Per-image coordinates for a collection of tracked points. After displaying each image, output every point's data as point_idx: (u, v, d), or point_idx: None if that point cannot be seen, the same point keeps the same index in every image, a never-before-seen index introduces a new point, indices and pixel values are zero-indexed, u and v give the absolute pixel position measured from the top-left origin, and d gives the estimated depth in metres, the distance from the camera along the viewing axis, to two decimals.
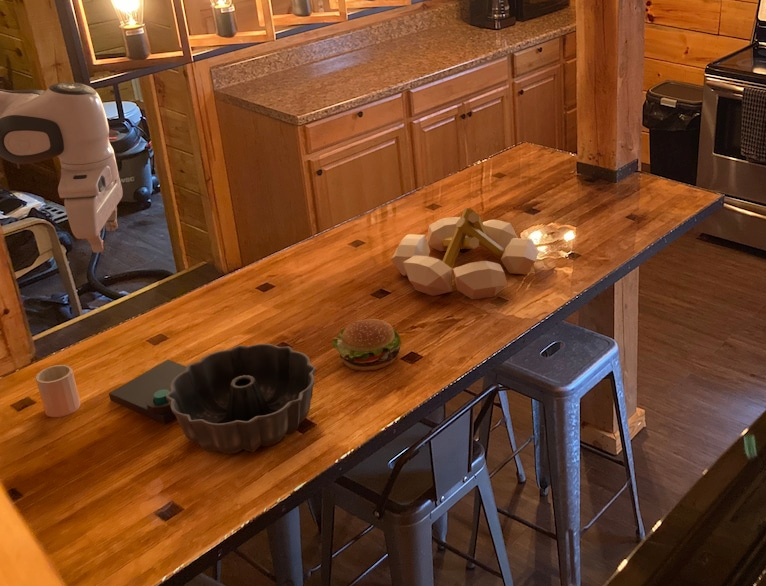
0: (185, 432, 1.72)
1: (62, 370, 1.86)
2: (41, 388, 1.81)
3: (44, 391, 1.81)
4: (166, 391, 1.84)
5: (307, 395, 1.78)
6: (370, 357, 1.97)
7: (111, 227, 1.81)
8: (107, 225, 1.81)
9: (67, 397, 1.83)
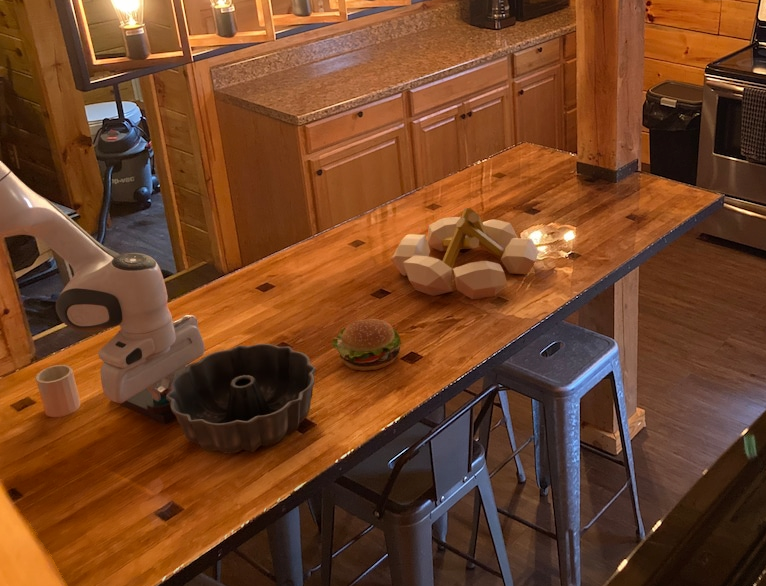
0: (185, 432, 1.72)
1: (62, 370, 1.86)
2: (41, 388, 1.81)
3: (44, 391, 1.81)
4: None
5: (307, 395, 1.78)
6: (370, 357, 1.97)
7: None
8: None
9: (67, 397, 1.83)
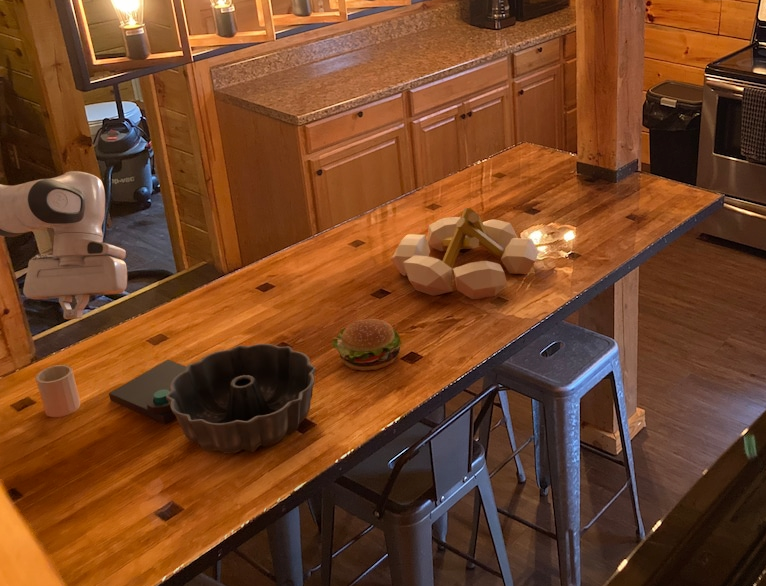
0: (185, 432, 1.72)
1: (62, 370, 1.86)
2: (41, 388, 1.81)
3: (44, 391, 1.81)
4: (166, 391, 1.84)
5: (307, 395, 1.78)
6: (370, 357, 1.97)
7: None
8: None
9: (67, 397, 1.83)
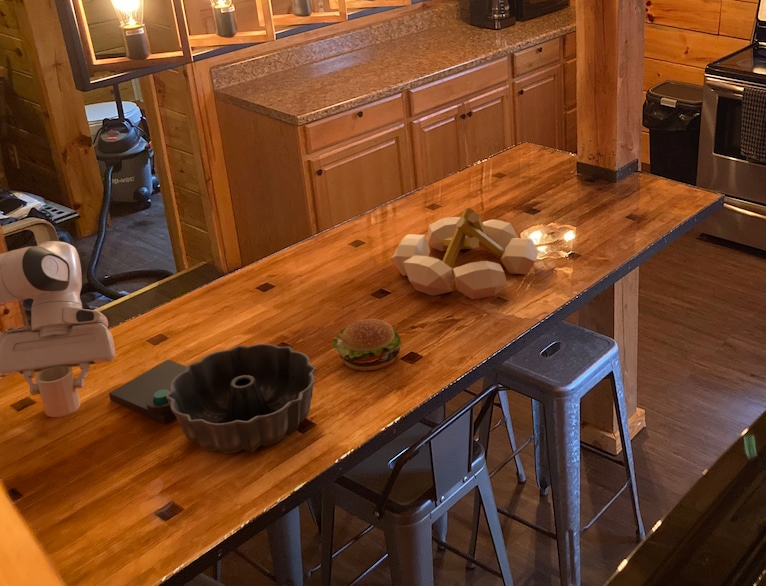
0: (185, 432, 1.72)
1: (62, 370, 1.86)
2: (41, 388, 1.81)
3: (44, 391, 1.81)
4: (166, 391, 1.84)
5: (307, 395, 1.78)
6: (370, 357, 1.97)
7: None
8: None
9: (67, 397, 1.83)
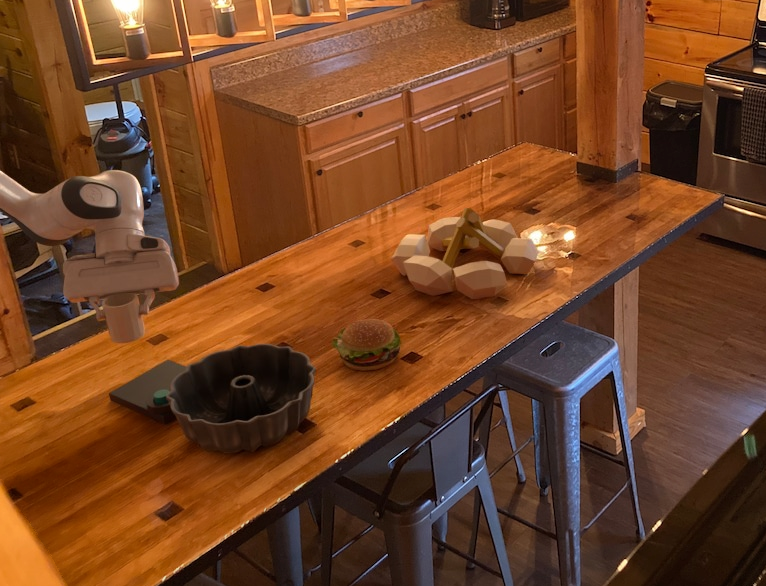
0: (185, 432, 1.72)
1: (127, 297, 1.85)
2: (108, 313, 1.81)
3: (111, 316, 1.81)
4: (166, 391, 1.84)
5: (307, 395, 1.78)
6: (370, 357, 1.97)
7: None
8: None
9: (133, 323, 1.83)
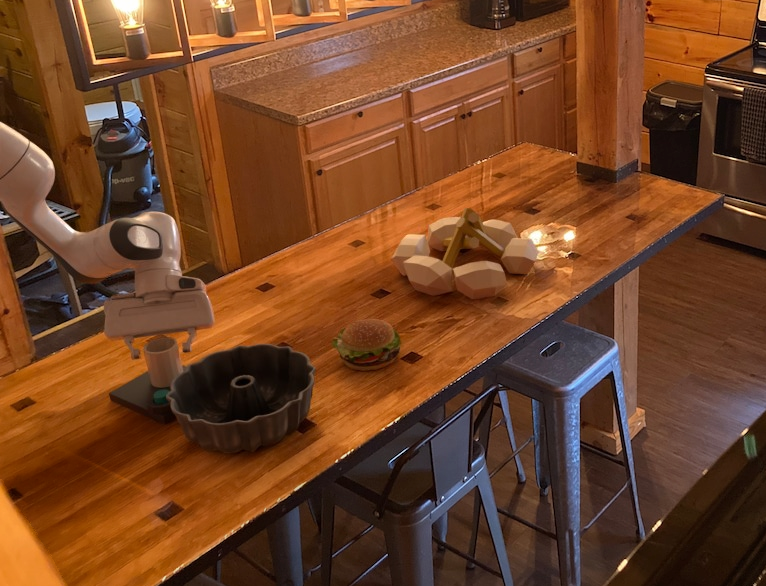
0: (185, 432, 1.72)
1: (167, 342, 1.92)
2: (149, 359, 1.87)
3: (152, 362, 1.87)
4: (166, 391, 1.84)
5: (307, 395, 1.78)
6: (370, 357, 1.97)
7: (139, 355, 1.89)
8: (139, 352, 1.89)
9: (173, 368, 1.89)
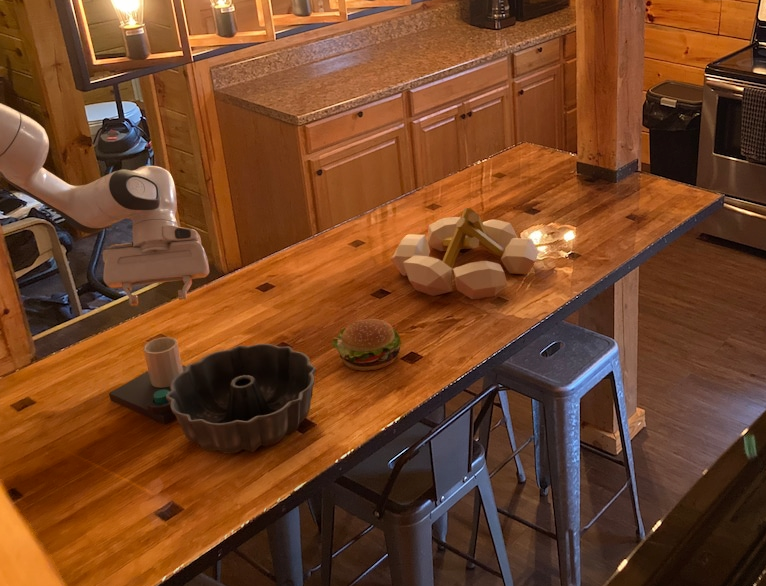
0: (185, 432, 1.72)
1: (167, 342, 1.92)
2: (149, 359, 1.87)
3: (152, 362, 1.87)
4: (166, 391, 1.84)
5: (307, 395, 1.78)
6: (370, 357, 1.97)
7: (137, 301, 1.97)
8: (136, 298, 1.97)
9: (173, 368, 1.89)
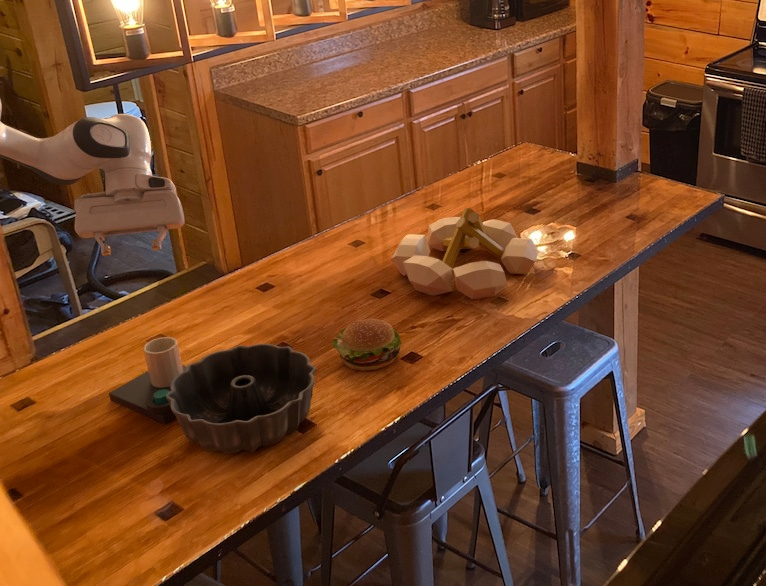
0: (185, 432, 1.72)
1: (167, 342, 1.92)
2: (149, 359, 1.87)
3: (152, 362, 1.87)
4: (166, 391, 1.84)
5: (307, 395, 1.78)
6: (370, 357, 1.97)
7: (109, 251, 1.92)
8: (109, 248, 1.91)
9: (173, 368, 1.89)
